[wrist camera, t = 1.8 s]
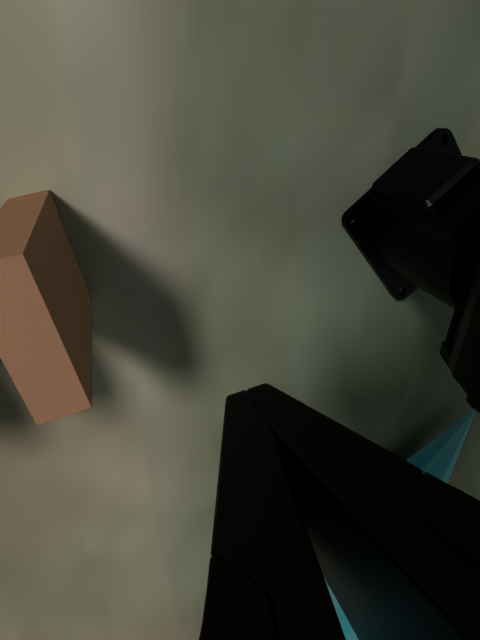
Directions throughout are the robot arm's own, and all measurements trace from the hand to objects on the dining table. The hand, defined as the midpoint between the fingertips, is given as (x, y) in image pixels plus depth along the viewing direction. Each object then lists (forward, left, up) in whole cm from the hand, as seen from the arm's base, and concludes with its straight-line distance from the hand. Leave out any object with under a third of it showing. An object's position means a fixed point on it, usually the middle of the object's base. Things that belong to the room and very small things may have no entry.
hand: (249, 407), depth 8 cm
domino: (+2, +4, -13) cm, 14 cm away
